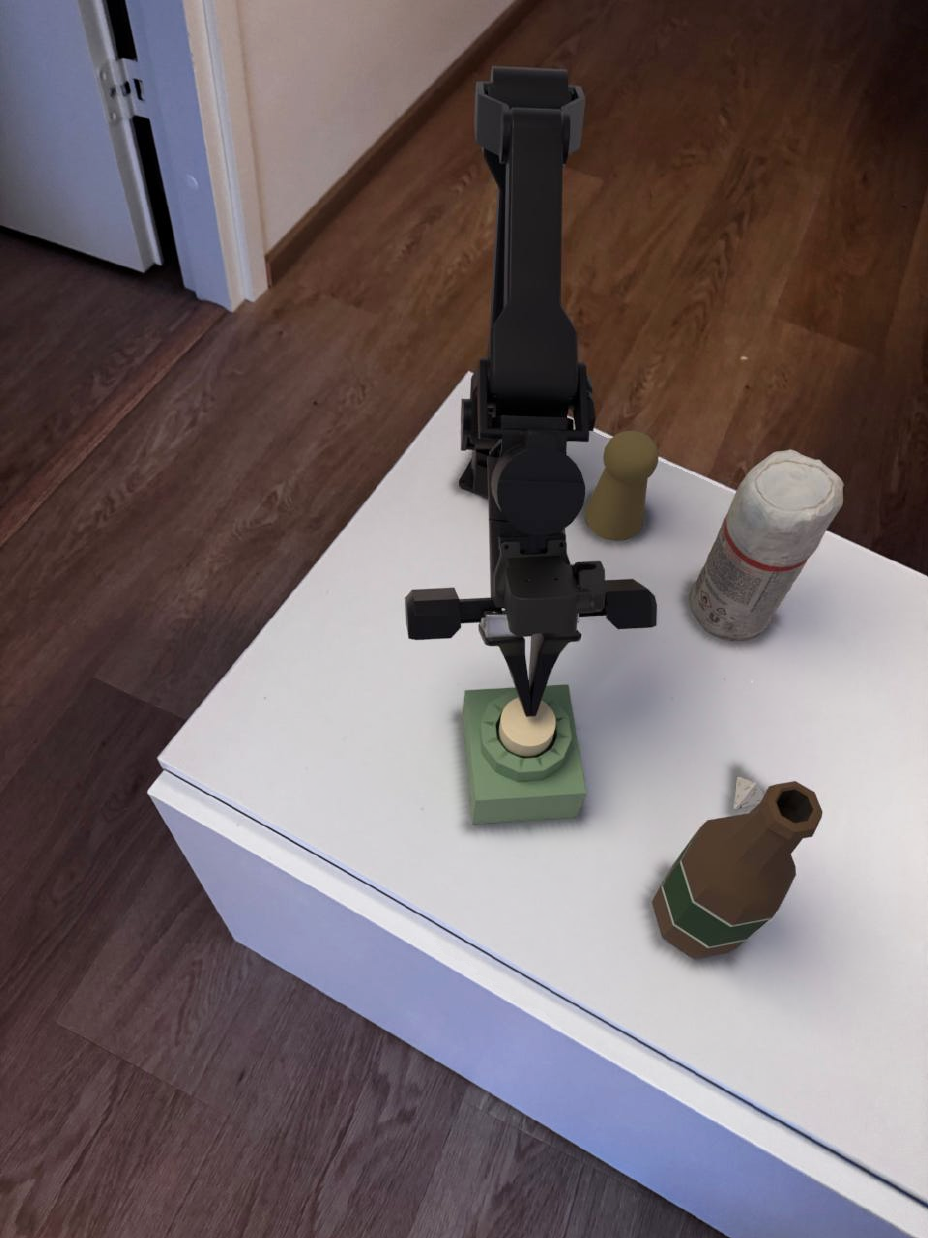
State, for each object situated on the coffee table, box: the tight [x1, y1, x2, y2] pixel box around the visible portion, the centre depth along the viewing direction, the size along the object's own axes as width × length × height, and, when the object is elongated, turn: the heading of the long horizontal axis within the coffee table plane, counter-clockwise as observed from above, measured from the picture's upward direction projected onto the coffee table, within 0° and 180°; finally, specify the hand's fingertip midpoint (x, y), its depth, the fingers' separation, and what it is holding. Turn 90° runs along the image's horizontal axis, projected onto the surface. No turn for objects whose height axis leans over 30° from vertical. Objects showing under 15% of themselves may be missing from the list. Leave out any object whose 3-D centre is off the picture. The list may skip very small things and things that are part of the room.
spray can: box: [688, 449, 845, 642], centre depth 86 cm, size 8×8×20 cm
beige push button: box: [499, 698, 556, 757], centre depth 78 cm, size 4×4×2 cm
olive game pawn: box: [584, 430, 659, 541], centre depth 96 cm, size 6×6×11 cm
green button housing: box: [461, 684, 587, 825], centre depth 82 cm, size 10×9×8 cm
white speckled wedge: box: [733, 776, 765, 810], centre depth 84 cm, size 4×3×3 cm
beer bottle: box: [651, 780, 823, 960], centre depth 69 cm, size 8×8×24 cm
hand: (530, 715), depth 76 cm, fingers closed
